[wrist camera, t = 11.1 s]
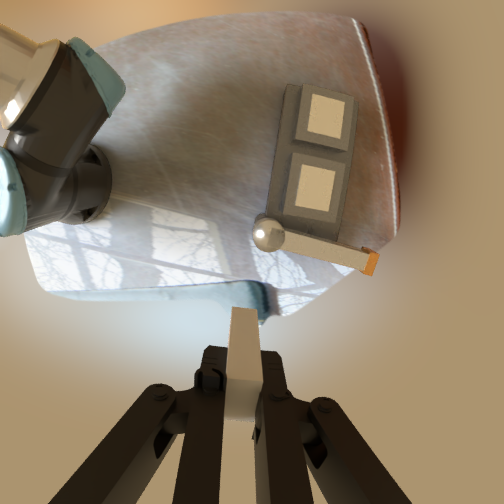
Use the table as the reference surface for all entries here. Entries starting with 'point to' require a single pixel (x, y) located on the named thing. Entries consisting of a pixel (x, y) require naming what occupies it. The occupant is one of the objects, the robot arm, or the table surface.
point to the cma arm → (312, 246)
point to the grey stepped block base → (312, 160)
